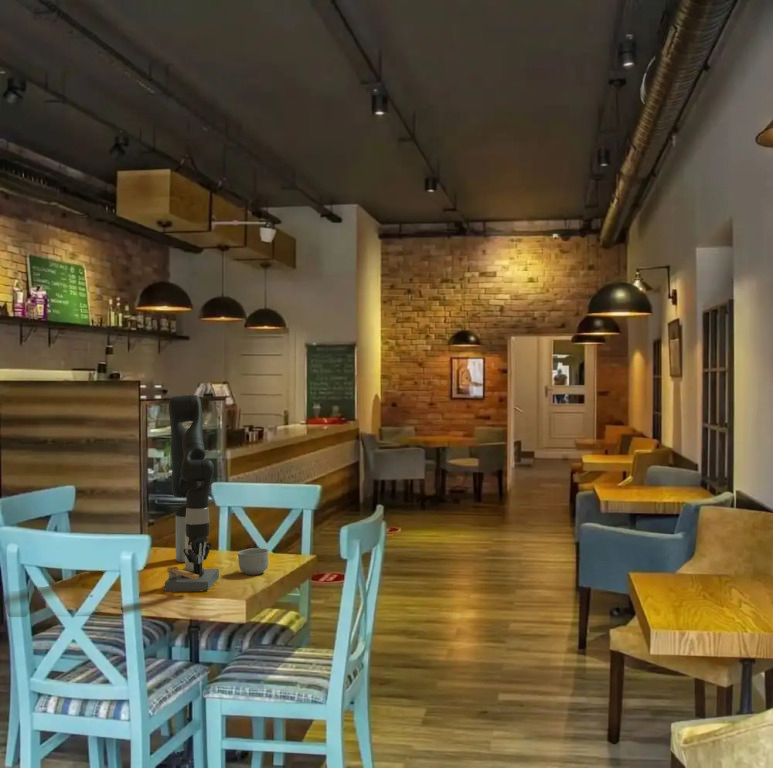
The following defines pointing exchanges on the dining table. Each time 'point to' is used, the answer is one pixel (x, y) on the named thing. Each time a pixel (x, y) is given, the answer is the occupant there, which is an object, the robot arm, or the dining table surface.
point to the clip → (183, 572)
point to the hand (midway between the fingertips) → (197, 574)
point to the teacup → (253, 560)
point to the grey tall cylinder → (188, 565)
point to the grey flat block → (191, 581)
